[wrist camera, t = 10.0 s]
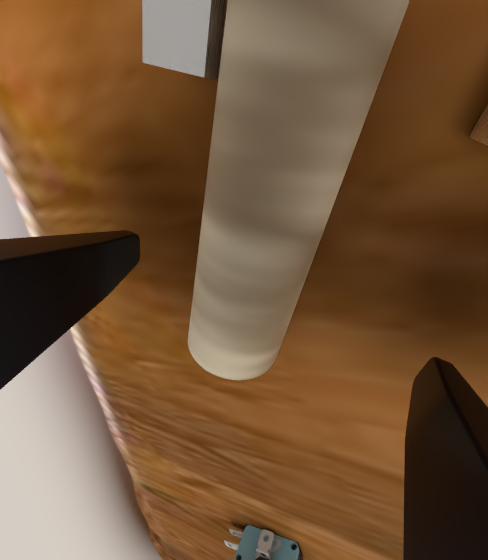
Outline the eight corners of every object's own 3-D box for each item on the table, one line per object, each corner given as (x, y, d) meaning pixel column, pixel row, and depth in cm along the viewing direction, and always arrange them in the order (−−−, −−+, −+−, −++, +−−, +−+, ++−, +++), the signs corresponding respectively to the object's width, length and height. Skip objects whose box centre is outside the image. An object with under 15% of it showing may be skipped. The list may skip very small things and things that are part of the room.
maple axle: (329, -3, 9) (205, -56, 7) (456, -10, 6) (314, -101, 4) (249, 304, 16) (174, 321, 14) (294, 363, 13) (210, 393, 11)
